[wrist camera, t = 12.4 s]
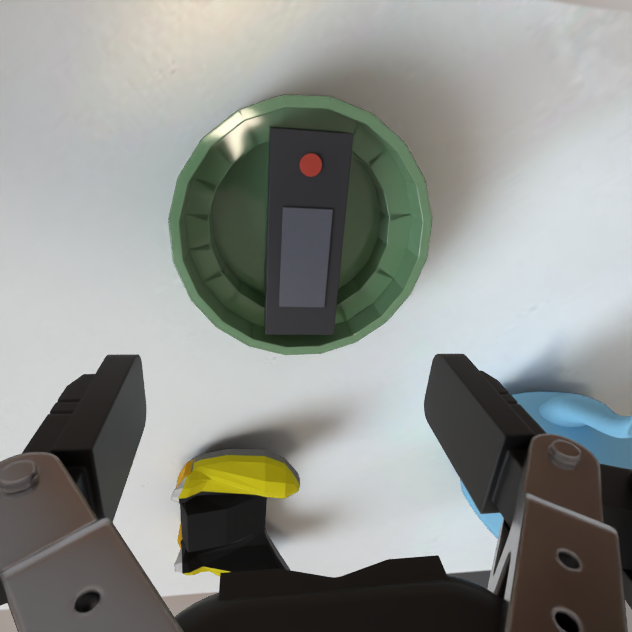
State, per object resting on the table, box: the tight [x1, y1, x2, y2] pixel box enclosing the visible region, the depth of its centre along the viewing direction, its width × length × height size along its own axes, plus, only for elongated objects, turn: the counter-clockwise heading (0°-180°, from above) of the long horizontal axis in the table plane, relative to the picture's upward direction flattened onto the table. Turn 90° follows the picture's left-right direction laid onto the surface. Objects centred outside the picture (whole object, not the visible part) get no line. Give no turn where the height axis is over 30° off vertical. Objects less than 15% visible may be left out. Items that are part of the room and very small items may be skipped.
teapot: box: [460, 392, 632, 539], centre depth 35 cm, size 12×18×12 cm
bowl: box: [168, 95, 432, 355], centre depth 28 cm, size 15×15×5 cm
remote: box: [264, 127, 354, 335], centre depth 26 cm, size 12×4×2 cm, turn 176°
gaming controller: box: [170, 449, 300, 576], centre depth 37 cm, size 15×6×10 cm
